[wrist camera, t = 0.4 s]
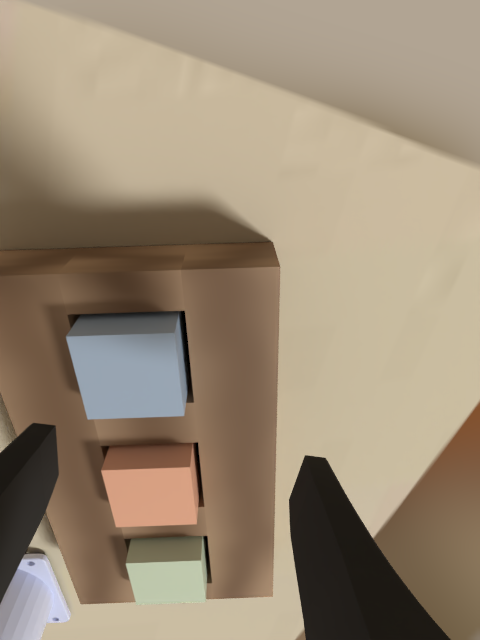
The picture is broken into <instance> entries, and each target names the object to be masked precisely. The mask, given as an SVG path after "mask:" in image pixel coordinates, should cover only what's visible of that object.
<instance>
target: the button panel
mask: <svg viewBox="0 0 480 640" xmlns="http://www.w3.org/2000/svg"><path fill="white" fill-rule="evenodd" d="M279 296H280V265H279V261H278V258H277V255H276V251H275V248H274V245H273V242H254V243H223V244H191V245H160V246H129V247H97V248H66V249H34V250H3V251H0V393H1V396H2V398H3V401H4V404H5V406H6V409H7V412H8V414H9V417H10V419H11V422H12V425H13V427H14V430H15V433H16V435H17V437H18V436H19V435H20V434H21V433H22V432H23V431H24V430H25V429H26V428H27V427H28V426H29V425H31V424H32V423H40V424H48V425H56V437H57V452H58V467H59V476H58V479H57V482H56V484H55V487H54V490H53V493H52V496H51V498H50V501H49V504H48V506H47V509H46V514H47V517H48V519H49V522H50V525H51V527H52V530H53V532H54V535H55V538H56V540H57V543H58V546H59V548H60V551H61V553H62V556H63V559H64V561H65V564H66V567H67V569H68V572H69V574H70V577H71V580H72V582H73V585H74V588H75V590H76V593H77V595H78V598H79V601H80V603H81V604H99V603H124V602H136V601H135V597H134V593H133V590H132V586H131V582H130V578H129V574H128V571H127V567H126V560H127V555H128V551H129V546H130V542H131V539H133V538H159V537H185V536H207V537H205V539H206V549H207V558H208V567H207V589H206V599H224V598H249V597H273V560H274V516H275V472H276V428H277V384H278V340H279ZM159 311H185V317H186V327H187V337H188V347H189V357H190V365H187V366H188V376H189V385H188V392H187V399H186V407H185V414H184V416H173V417H145V418H117V419H89V420H88V419H87V415H86V411H85V407H84V404H83V400H82V396H81V392H80V389H79V385H78V381H77V377H76V373H75V370H74V366H73V362H72V358H71V354H70V351H69V347H68V343H67V339H66V336H67V334H68V333H69V331H70V330H71V328H72V327H73V325H74V324H75V322H76V321H77V319H78V318H79V317H80V315H81V314H100V313H130V312H159ZM196 442H198V447H199V457H200V463H198V472H199V481H200V488H199V502H198V515H197V524H191V525H165V526H139V527H116V525H115V521H114V517H113V514H112V510H111V506H110V502H109V498H108V495H107V491H106V487H105V483H104V480H103V476H102V472H101V469H102V466H103V464H104V461H105V458H106V455H107V452H108V449H109V446H113V445H141V444H168V443H196Z"/></svg>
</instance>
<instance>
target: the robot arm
mask: <svg viewBox="0 0 480 640" xmlns="http://www.w3.org/2000/svg"><path fill="white" fill-rule="evenodd" d="M58 476H59V467H58V452H57V437H56V425H48V424H40V423H32V424H31V425H29V426H28V427H27V428H26V429H25V430H24V431H23V432H22V433H21V434H20V435H19V436H18V437H17V438H16V439H15V440H14V441H12V442H11V443H10V444H9V445H8V446H7V447H6V448H5V449H4V450H3V451H2V452H1V453H0V640H41V637H42V634H43V631H44V628H45V626H46V623H58V622H67V621H68V620H69V619H70V615H71V614H70V611H69V609H68V606H67V604H66V601H65V599H64V597H63V594H62V592H61V589H60V587H59V584H58V582H57V579H56V577H55V575H54V572H53V570H52V567H51V565H50V562H49V560H48V558H47V556H46V555H44V554H39V553H38V554H25V552H26V550H27V548H28V546H29V544H30V542H31V540H32V538H33V536H34V534H35V532H36V530H37V528H38V526H39V524H40V522H41V520H42V518H43V516H44V514H45V511H46V509H47V506H48V504H49V501H50V498H51V496H52V493H53V490H54V487H55V484H56V482H57V479H58ZM289 510H290V532H291V541H292V548H293V555H294V562H295V568H296V574H297V581H298V587H299V594H300V600H301V606H302V613H303V619H304V627H305V636H306V640H450V638H449V637H448V636H447V635H446V634H445V633H444V632H443V630H442V629H441V628H440V627H439V626H438V625H437V624H436V623H435V621H434V620H433V619H432V618H431V617H430V615H429V614H428V613H427V612H426V610H425V609H424V608H423V607H422V606H421V604H420V603H419V602H418V601H417V599H416V598H415V597H414V595H413V594H412V593H411V592H410V590H409V589H408V588H407V586H406V585H405V584H404V583H403V581H402V580H401V578H400V577H399V576H398V574H397V573H396V572H395V570H394V569H393V567H392V566H391V565H390V563H389V562H388V560H387V559H386V557H385V556H384V555H383V553H382V552H381V550H380V549H379V547H378V546H377V544H376V543H375V541H374V540H373V538H372V536H371V535H370V533H369V532H368V530H367V529H366V527H365V525H364V524H363V522H362V521H361V519H360V517H359V516H358V514H357V512H356V511H355V509H354V507H353V506H352V504H351V502H350V501H349V499H348V497H347V495H346V494H345V492H344V490H343V488H342V487H341V485H340V483H339V481H338V479H337V478H336V476H335V474H334V472H333V470H332V468H331V467H330V465H329V463H328V461H327V460H326V458H322V457H314V456H306V455H305V457H304V460H303V463H302V466H301V468H300V471H299V474H298V477H297V479H296V482H295V485H294V488H293V490H292V493H291V496H290V499H289Z"/></svg>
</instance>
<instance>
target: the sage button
mask: <svg viewBox="0 0 480 640" xmlns="http://www.w3.org/2000/svg"><path fill="white" fill-rule="evenodd" d="M126 567H127V571H128V574H129V578H130V582H131V586H132V590H133V593H134V597H135V601H136V605H147V604H172V603H197V602H206V589H207V567H208V558H207V549H206V539H205V536H185V537H159V538H133V539H131V542H130V546H129V551H128V555H127V560H126Z"/></svg>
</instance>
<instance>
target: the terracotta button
mask: <svg viewBox="0 0 480 640" xmlns="http://www.w3.org/2000/svg"><path fill="white" fill-rule="evenodd" d="M101 472H102V476H103V480H104V483H105V487H106V491H107V495H108V498H109V502H110V506H111V510H112V514H113V517H114V521H115V525H116V527H139V526H165V525H191V524H197V515H198V502H199V488H200V481H199V472H198V462H197V453H196V443H168V444H141V445H113V446H109V449H108V452H107V455H106V458H105V461H104V464H103V466H102V469H101Z"/></svg>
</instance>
